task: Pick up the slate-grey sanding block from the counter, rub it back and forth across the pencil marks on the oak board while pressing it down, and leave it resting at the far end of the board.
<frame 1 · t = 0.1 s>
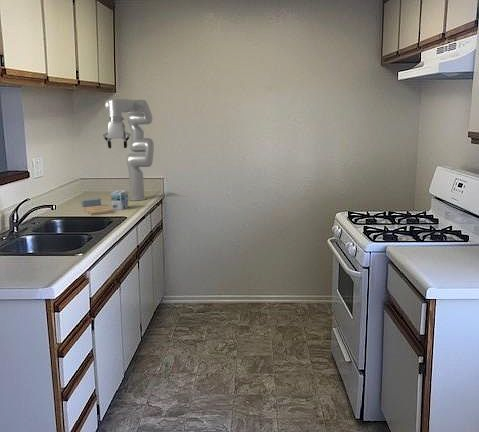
hand: (117, 148, 341), 37 cm above the counter, tool pointing down, fingers open, 9 cm apart
light bulb box: (120, 208, 345), on the counter
oak board: (98, 211, 337), on the counter
sanding block: (91, 207, 354), on the counter
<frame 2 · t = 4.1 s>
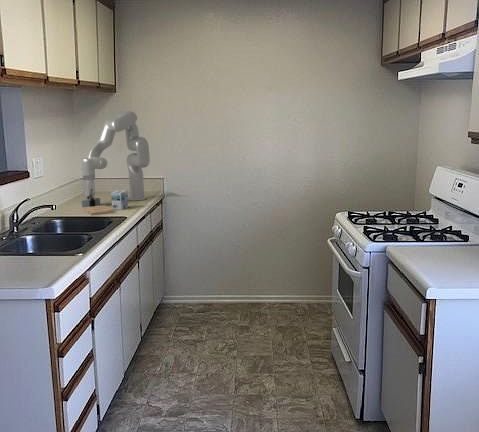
hand: (91, 205, 354), 1 cm above the counter, tool pointing down, fingers closed on sanding block, 6 cm apart
sanding block: (91, 207, 354), on the counter, touching gripper
everything else where it was.
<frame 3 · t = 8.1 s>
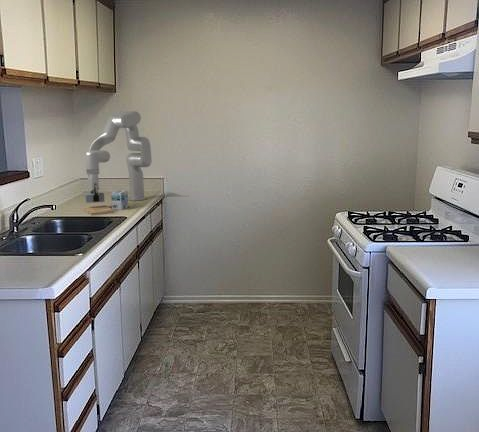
hand: (94, 200, 342), 6 cm above the counter, tool pointing down, fingers closed on sanding block, 6 cm apart
sanding block: (94, 201, 342), point 5 cm above the counter, touching gripper
everything else where it was.
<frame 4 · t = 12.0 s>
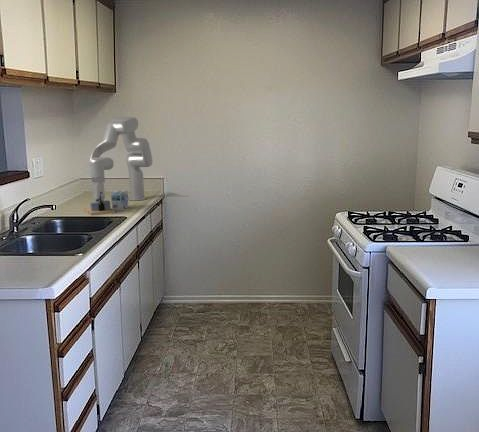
hand: (100, 209, 332), 2 cm above the counter, tool pointing down, fingers closed on sanding block, 6 cm apart
sanding block: (100, 210, 332), point 2 cm above the counter, touching gripper
everything else where it was.
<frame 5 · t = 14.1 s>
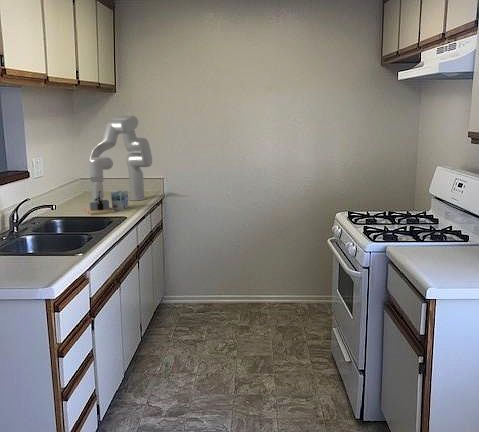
hand: (99, 208, 335), 2 cm above the counter, tool pointing down, fingers closed on sanding block, 6 cm apart
sanding block: (99, 209, 335), point 2 cm above the counter, touching gripper
everything else where it was.
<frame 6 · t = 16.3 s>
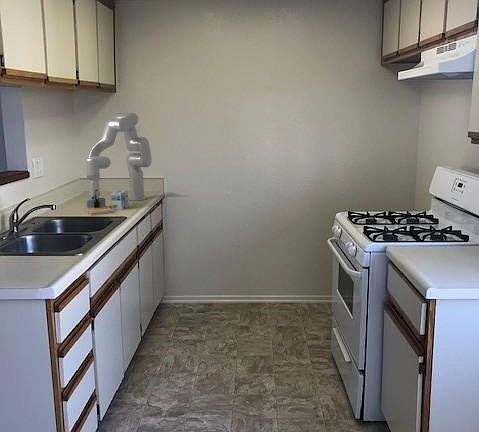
hand: (95, 206, 343), 2 cm above the counter, tool pointing down, fingers closed on sanding block, 6 cm apart
sanding block: (95, 207, 343), point 2 cm above the counter, touching gripper
everything else where it was.
when the fingers open (2 cm above the counter, at t = 19.8 s): sanding block stays where it is, resting on oak board.
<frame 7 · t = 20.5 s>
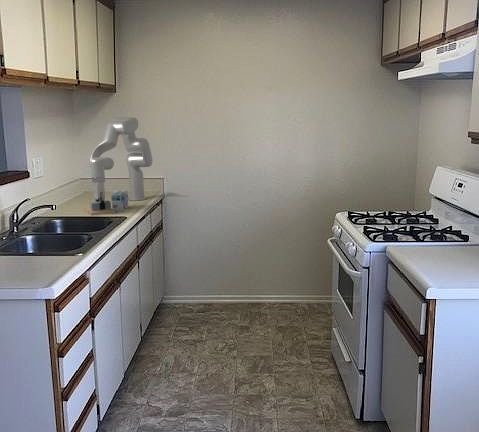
hand: (100, 208, 332), 3 cm above the counter, tool pointing down, fingers open, 9 cm apart
sanding block: (100, 210, 332), point 2 cm above the counter, touching oak board
everything else where it was.
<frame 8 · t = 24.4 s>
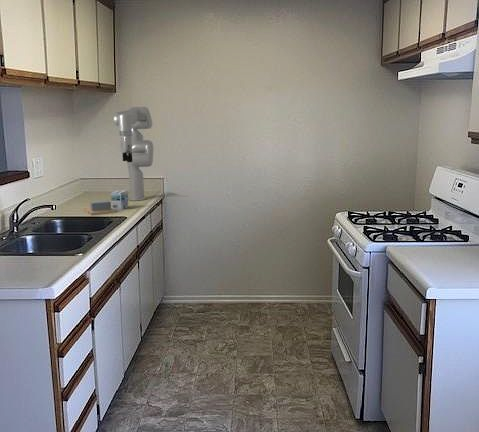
hand: (127, 161, 348), 28 cm above the counter, tool pointing down, fingers open, 9 cm apart
nothing on the counter moved.
at the end: sanding block inside the target area on the oak board (0.4 cm from its centre), point 1.5 cm above the oak board's base; sanding block tilted 0°; the gripper is holding nothing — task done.
